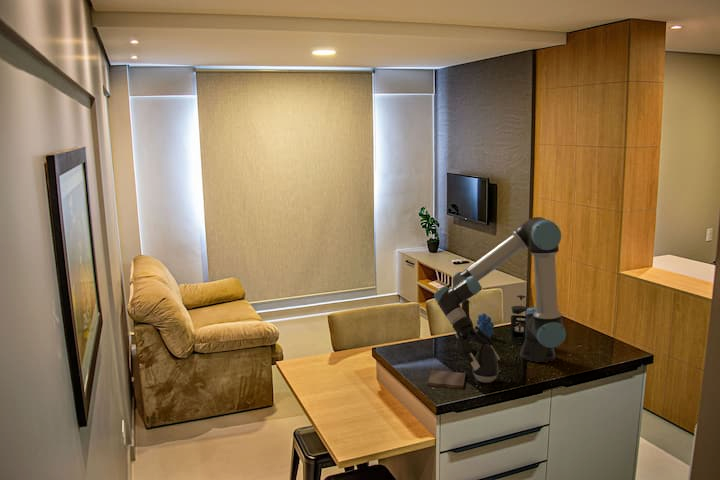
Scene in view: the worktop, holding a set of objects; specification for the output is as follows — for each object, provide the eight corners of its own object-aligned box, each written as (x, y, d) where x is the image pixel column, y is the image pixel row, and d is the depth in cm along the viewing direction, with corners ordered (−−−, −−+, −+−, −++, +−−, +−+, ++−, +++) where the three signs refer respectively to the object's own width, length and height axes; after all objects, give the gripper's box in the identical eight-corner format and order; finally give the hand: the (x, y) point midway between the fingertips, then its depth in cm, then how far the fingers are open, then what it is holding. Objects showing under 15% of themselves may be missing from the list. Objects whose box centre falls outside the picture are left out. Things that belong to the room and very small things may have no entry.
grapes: (470, 335, 307) (471, 312, 305) (480, 333, 310) (481, 310, 309) (486, 341, 297) (487, 317, 295) (496, 339, 301) (497, 315, 299)
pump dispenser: (469, 376, 252) (470, 340, 250) (493, 375, 253) (494, 340, 250) (475, 385, 242) (477, 349, 240) (501, 384, 243) (502, 348, 240)
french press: (534, 343, 294) (536, 297, 290) (517, 345, 291) (519, 299, 287) (519, 336, 305) (521, 292, 301) (503, 338, 302) (505, 293, 298)
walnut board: (465, 375, 252) (465, 373, 252) (462, 388, 239) (463, 385, 238) (431, 372, 255) (432, 370, 255) (427, 385, 242) (427, 382, 242)
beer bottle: (454, 351, 282) (455, 301, 279) (457, 346, 289) (459, 297, 286) (470, 353, 279) (472, 303, 276) (474, 348, 287) (475, 299, 283)
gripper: (472, 320, 264) (499, 361, 256) (434, 331, 248) (463, 376, 239) (482, 310, 260) (511, 352, 251) (445, 321, 243) (474, 367, 234)
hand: (487, 364), depth 245 cm, fingers open, 13 cm apart
